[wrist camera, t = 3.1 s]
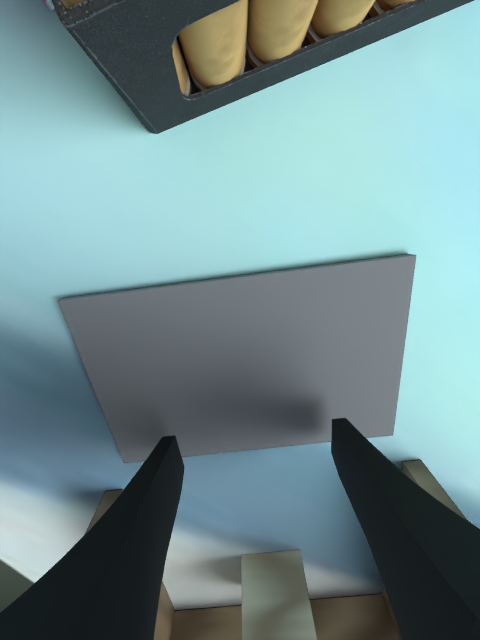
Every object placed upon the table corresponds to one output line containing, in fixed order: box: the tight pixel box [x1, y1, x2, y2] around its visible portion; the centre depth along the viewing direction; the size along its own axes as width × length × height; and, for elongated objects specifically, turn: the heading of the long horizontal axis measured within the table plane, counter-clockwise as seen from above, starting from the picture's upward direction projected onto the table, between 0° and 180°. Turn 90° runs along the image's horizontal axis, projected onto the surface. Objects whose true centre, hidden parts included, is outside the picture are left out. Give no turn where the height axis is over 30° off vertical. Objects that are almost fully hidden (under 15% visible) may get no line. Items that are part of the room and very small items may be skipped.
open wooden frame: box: [85, 460, 468, 640], centre depth 16 cm, size 18×15×4 cm
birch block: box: [241, 550, 317, 640], centre depth 16 cm, size 4×4×5 cm
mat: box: [58, 254, 416, 463], centre depth 12 cm, size 14×9×1 cm, turn 97°
